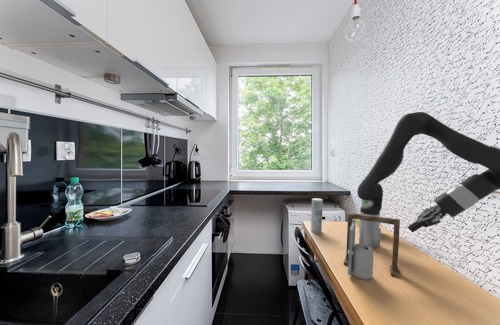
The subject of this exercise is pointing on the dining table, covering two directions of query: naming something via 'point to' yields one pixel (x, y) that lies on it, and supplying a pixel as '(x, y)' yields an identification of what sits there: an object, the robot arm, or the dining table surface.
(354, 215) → the door frame
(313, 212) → the spray can
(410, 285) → the dining table surface
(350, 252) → the door
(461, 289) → the dining table surface
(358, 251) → the can
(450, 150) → the robot arm
